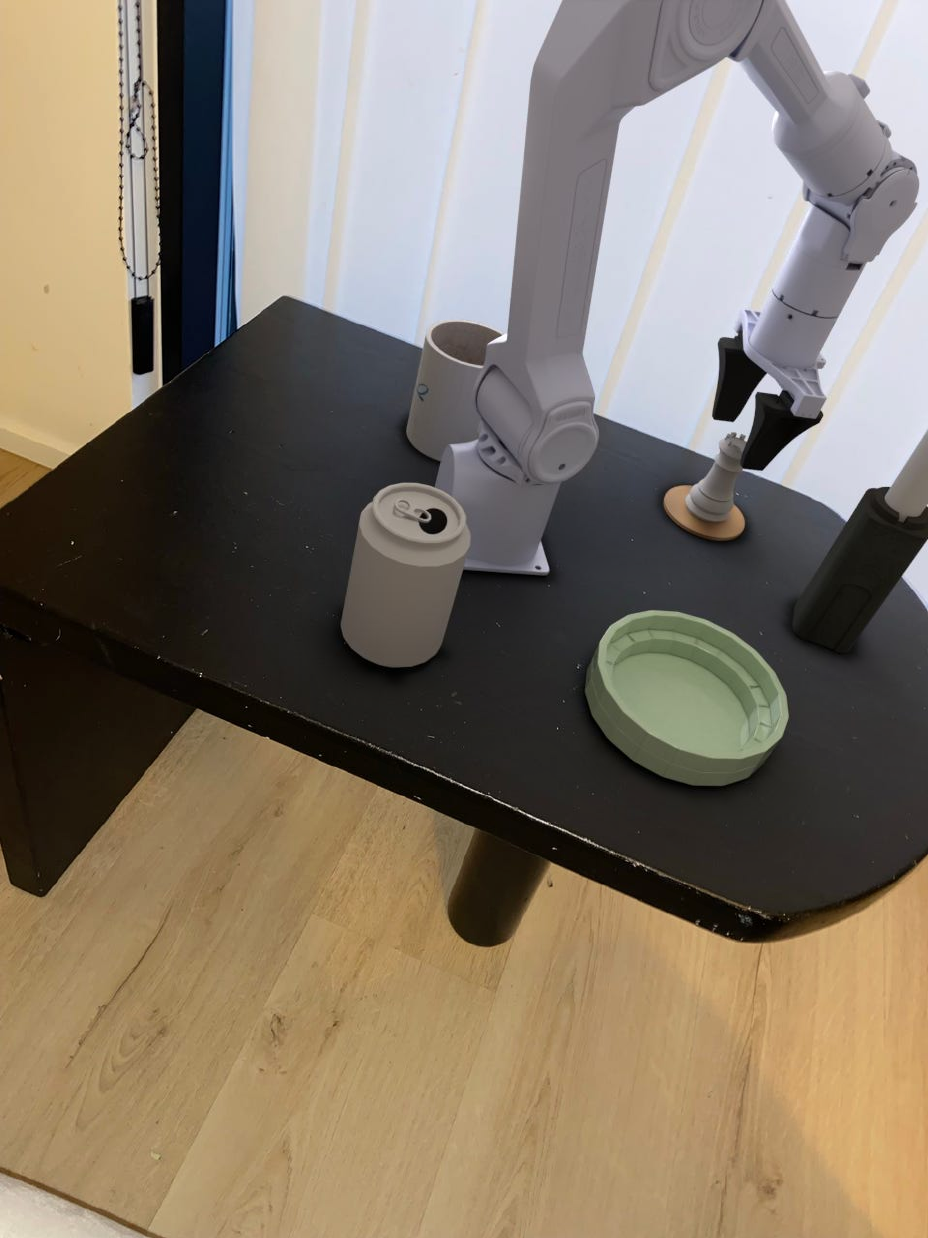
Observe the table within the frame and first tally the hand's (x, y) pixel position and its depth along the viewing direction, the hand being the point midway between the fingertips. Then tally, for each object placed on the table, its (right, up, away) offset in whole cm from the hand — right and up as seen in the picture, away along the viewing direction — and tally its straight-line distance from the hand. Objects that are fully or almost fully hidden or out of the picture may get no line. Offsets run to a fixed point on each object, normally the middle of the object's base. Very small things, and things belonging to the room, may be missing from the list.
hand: (736, 442), depth 85 cm
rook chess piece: (-1, -6, +5) cm, 8 cm away
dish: (-9, -23, -15) cm, 28 cm away
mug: (-25, +2, +7) cm, 26 cm away
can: (-30, -17, -16) cm, 38 cm away
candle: (+6, -17, -3) cm, 18 cm away
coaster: (-2, -6, +5) cm, 8 cm away
